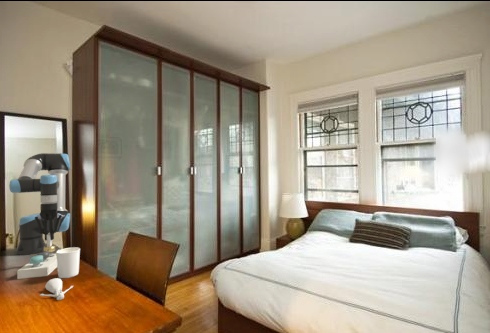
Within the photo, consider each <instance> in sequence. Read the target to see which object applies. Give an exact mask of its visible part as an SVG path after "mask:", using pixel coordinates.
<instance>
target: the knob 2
mask: <svg viewBox="0 0 490 333" xmlns="http://www.w3.org/2000/svg"><path fill="white" fill-rule="evenodd" d="M44 251H49V252H50V257H53V254H54V252H55V251H56V245H54V244H52V246H50V247H47V245H46V246H45V247H44ZM44 251H43V252H44Z"/></svg>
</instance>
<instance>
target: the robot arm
mask: <svg viewBox="0 0 490 333" xmlns="http://www.w3.org/2000/svg"><path fill="white" fill-rule="evenodd" d="M70 170H71V162H70V157H69V155H68V154H67V153H53V152H52V153H49V152H48V153H47V152H46V153H44V152H43V153H37V154H34V155H32V156H29V157H28V158H27V159H26V160H25V161H24V163H23V169H22V170H21V172H20V175H18V176H19V177H18V178H14V179H11V180H10V181H9V191H10V193H12V194H15V193H16V194H22V193H40V196H39V197H40V211H39V213H33V214H29V215H24V216H22V217H20V218H19V221H18V222H19V224H18V226H19V227H18V228H19V233H18V234H19V236H18V237H19V242H18V243H17V247H16V249H15V254H16V256H17V255H19V256H22V255H23V256H27V255H33V254H37V253H39V252H44V247H45V246H47V247H50V246H52V245H53V240H54V239H55V234H56V233H61V232H66V231H67V230H69V227H70V222H71V213H70V212H69V210H67V209H66V175H67V174H68V173H69V171H70ZM40 171H47V174H42V175H41V176H40V177H39V178H37V175H38V173H39V172H40ZM43 235H44V236H43ZM45 241H46V242H45Z"/></svg>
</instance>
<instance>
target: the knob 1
mask: <svg viewBox="0 0 490 333" xmlns="http://www.w3.org/2000/svg"><path fill="white" fill-rule="evenodd" d="M29 262H30V264H33V267H40V262H43V255H37V254H36V255H33V256H30V257H29Z"/></svg>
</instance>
